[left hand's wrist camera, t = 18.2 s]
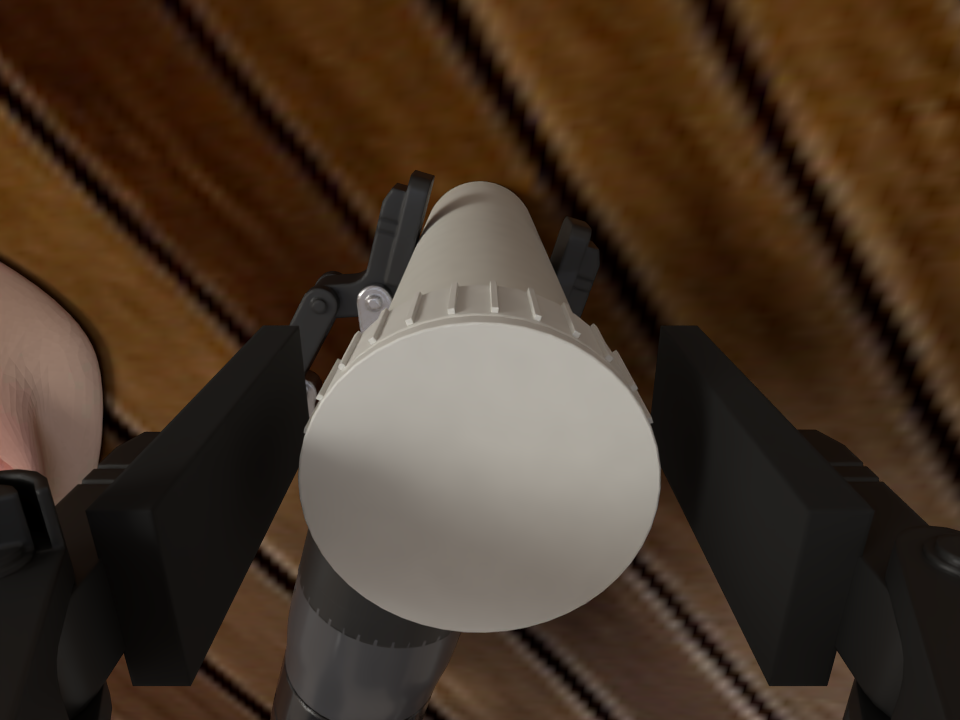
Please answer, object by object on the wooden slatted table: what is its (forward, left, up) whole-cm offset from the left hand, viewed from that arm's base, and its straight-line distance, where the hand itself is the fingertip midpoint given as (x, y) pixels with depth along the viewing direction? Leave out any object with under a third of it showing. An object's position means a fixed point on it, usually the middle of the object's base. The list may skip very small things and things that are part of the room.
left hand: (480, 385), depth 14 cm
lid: (0, 0, +4) cm, 4 cm away
